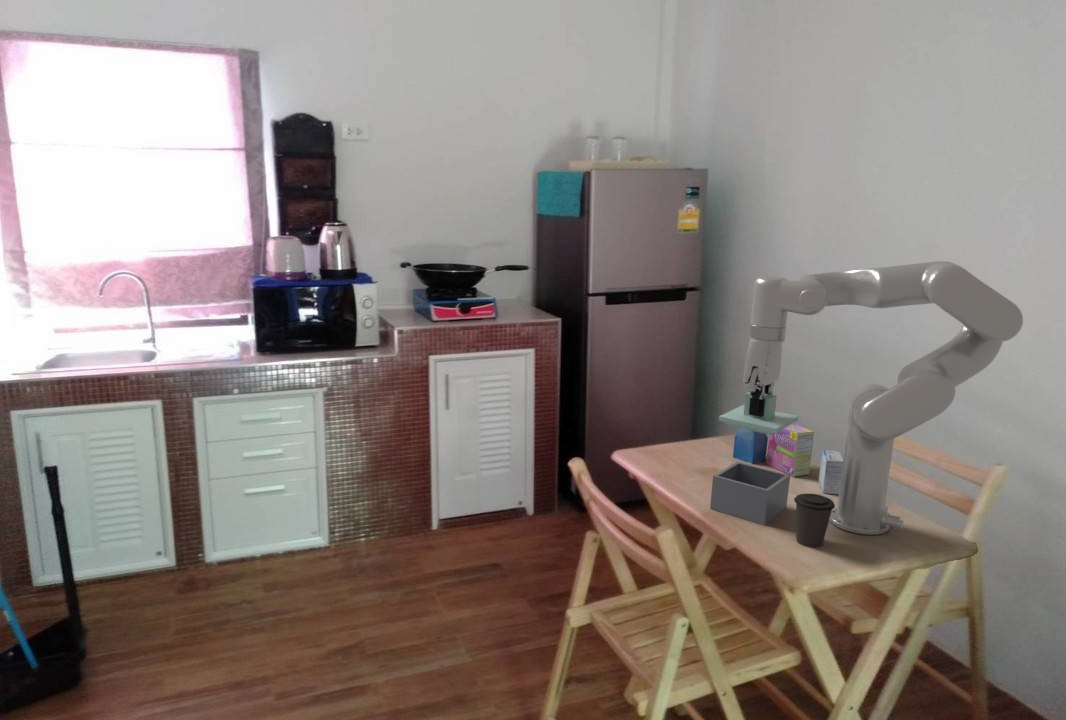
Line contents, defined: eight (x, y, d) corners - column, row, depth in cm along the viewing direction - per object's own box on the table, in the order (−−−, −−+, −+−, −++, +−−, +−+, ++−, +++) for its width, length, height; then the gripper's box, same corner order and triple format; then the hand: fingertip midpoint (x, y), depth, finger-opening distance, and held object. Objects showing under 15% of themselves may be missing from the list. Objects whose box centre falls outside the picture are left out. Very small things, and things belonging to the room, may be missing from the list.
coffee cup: (782, 540, 172) (787, 496, 169) (800, 530, 177) (806, 486, 175) (818, 554, 166) (824, 508, 164) (836, 542, 172) (842, 498, 169)
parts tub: (786, 507, 189) (790, 475, 187) (764, 525, 179) (768, 490, 177) (733, 492, 197) (737, 461, 195) (710, 508, 187) (713, 475, 185)
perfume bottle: (746, 453, 226) (750, 411, 223) (765, 459, 221) (770, 417, 219) (732, 457, 222) (736, 415, 219) (751, 464, 217) (756, 421, 215)
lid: (797, 424, 184) (800, 394, 183) (775, 437, 174) (778, 406, 173) (742, 412, 192) (745, 384, 191) (718, 425, 182) (720, 394, 180)
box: (765, 464, 218) (769, 421, 215) (781, 461, 220) (786, 419, 218) (792, 477, 209) (797, 433, 206) (809, 475, 211) (815, 431, 208)
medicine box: (841, 495, 198) (845, 461, 196) (822, 493, 199) (826, 459, 197) (836, 484, 205) (840, 451, 204) (817, 482, 206) (821, 449, 204)
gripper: (765, 326, 187) (757, 403, 191) (735, 335, 174) (728, 418, 179) (797, 330, 183) (789, 409, 187) (769, 341, 170) (760, 425, 174)
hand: (759, 413), depth 183 cm, fingers closed on lid, 3 cm apart
